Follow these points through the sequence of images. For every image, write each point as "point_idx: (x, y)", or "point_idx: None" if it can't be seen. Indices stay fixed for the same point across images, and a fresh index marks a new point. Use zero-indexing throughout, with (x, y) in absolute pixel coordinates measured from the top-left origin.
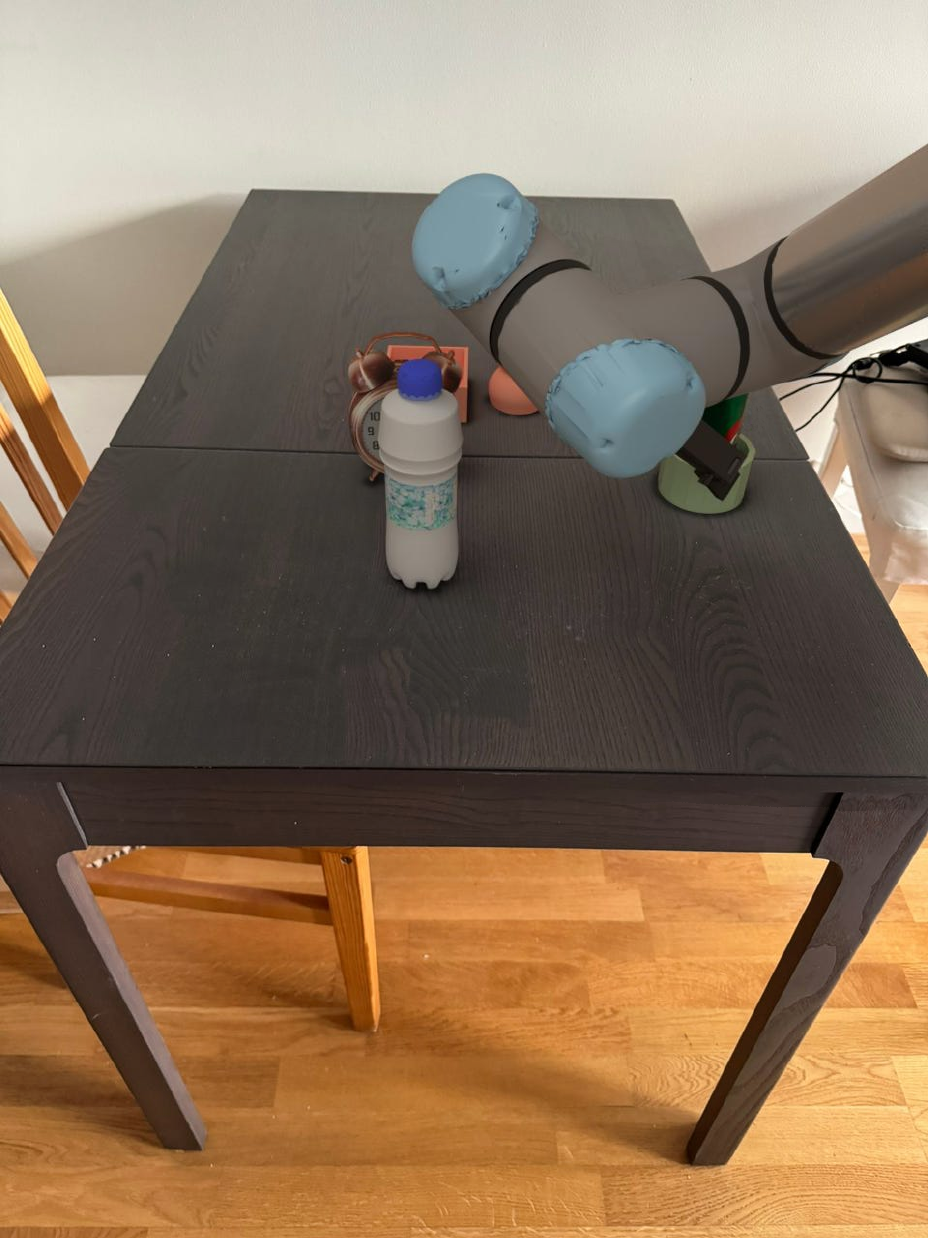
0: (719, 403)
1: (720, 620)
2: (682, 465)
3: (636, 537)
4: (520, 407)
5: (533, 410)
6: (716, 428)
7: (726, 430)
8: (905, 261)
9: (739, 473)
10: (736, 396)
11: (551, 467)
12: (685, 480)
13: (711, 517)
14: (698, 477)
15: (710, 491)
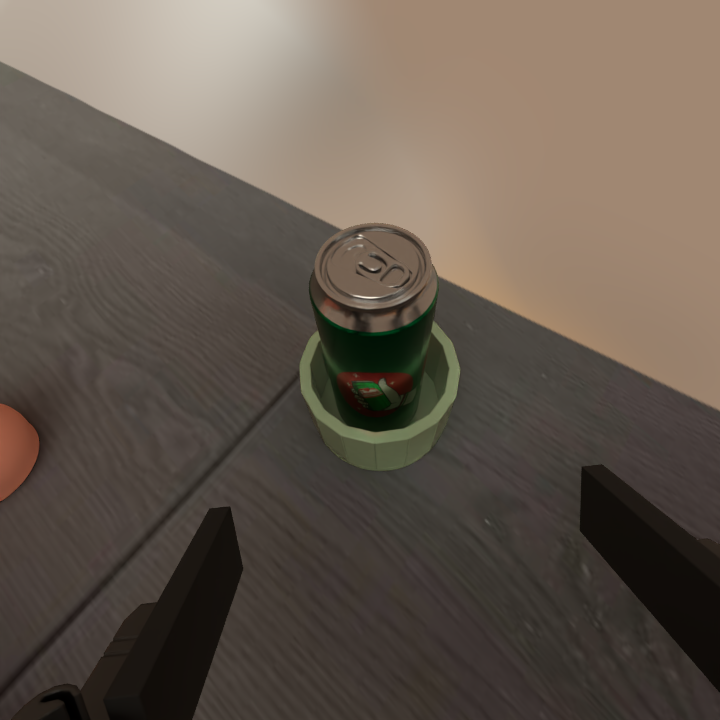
0: (415, 335)
1: (703, 676)
2: (388, 445)
3: (420, 605)
4: (3, 488)
5: (31, 464)
6: (414, 364)
7: (426, 352)
8: None
9: (606, 469)
10: (436, 299)
11: (160, 569)
12: (399, 452)
13: (444, 446)
14: (697, 665)
15: (607, 562)
